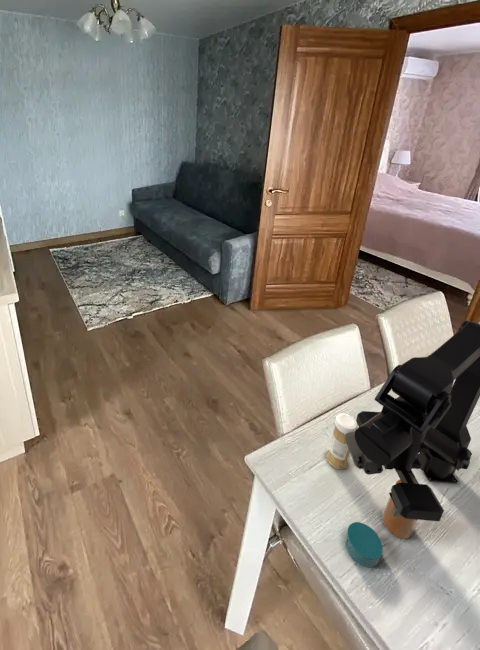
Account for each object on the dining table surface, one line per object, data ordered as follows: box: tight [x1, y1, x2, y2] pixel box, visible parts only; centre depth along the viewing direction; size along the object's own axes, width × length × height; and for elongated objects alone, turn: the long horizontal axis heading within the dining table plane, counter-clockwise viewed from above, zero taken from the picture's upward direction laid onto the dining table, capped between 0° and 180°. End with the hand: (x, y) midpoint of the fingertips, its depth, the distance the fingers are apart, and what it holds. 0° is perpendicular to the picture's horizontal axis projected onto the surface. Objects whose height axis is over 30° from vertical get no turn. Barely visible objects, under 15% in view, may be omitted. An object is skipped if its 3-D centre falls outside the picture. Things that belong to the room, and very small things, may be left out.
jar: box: [381, 479, 418, 540], centre depth 69 cm, size 5×5×11 cm
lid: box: [344, 521, 384, 568], centre depth 67 cm, size 6×6×3 cm
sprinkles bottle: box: [326, 412, 359, 470], centre depth 81 cm, size 5×5×13 cm
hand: (383, 488), depth 66 cm, fingers open, 9 cm apart
